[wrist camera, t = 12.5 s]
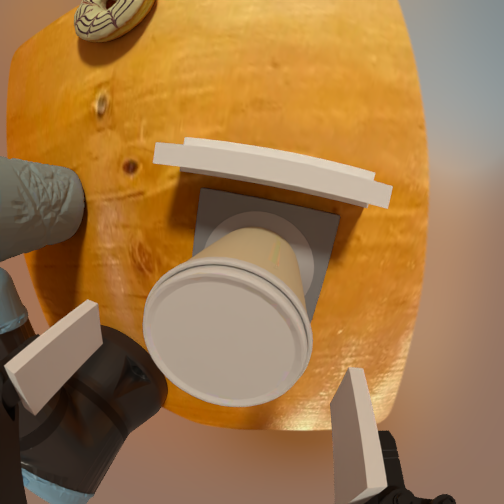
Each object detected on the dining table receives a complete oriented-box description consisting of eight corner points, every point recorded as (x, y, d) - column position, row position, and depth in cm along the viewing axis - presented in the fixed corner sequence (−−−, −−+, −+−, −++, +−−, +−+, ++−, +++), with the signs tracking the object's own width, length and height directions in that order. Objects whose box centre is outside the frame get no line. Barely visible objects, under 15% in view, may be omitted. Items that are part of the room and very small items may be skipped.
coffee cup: (234, 327, 27) (197, 419, 16) (185, 244, 25) (108, 304, 14) (324, 292, 24) (338, 387, 13) (278, 197, 23) (257, 229, 11)
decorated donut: (112, -20, 18) (96, -31, 14) (180, -25, 17) (166, -41, 14) (75, 45, 21) (55, 38, 18) (137, 48, 21) (117, 37, 17)
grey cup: (87, 152, 25) (-1, 136, 13) (94, 245, 26) (2, 265, 14) (37, 175, 27) (-38, 173, 15) (43, 253, 28) (-32, 270, 16)
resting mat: (305, 333, 27) (305, 337, 26) (189, 306, 28) (187, 309, 27) (339, 215, 23) (340, 216, 22) (203, 187, 24) (200, 188, 23)
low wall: (364, 206, 22) (384, 219, 17) (184, 170, 24) (151, 173, 18) (372, 172, 21) (395, 175, 16) (189, 138, 23) (157, 131, 17)
